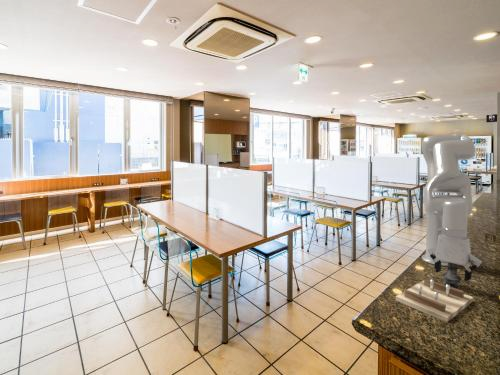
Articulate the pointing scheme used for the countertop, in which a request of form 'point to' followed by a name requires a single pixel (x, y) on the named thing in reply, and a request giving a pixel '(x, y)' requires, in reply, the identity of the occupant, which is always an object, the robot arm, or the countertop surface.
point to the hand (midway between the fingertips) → (452, 275)
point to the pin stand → (435, 299)
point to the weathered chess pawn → (452, 276)
